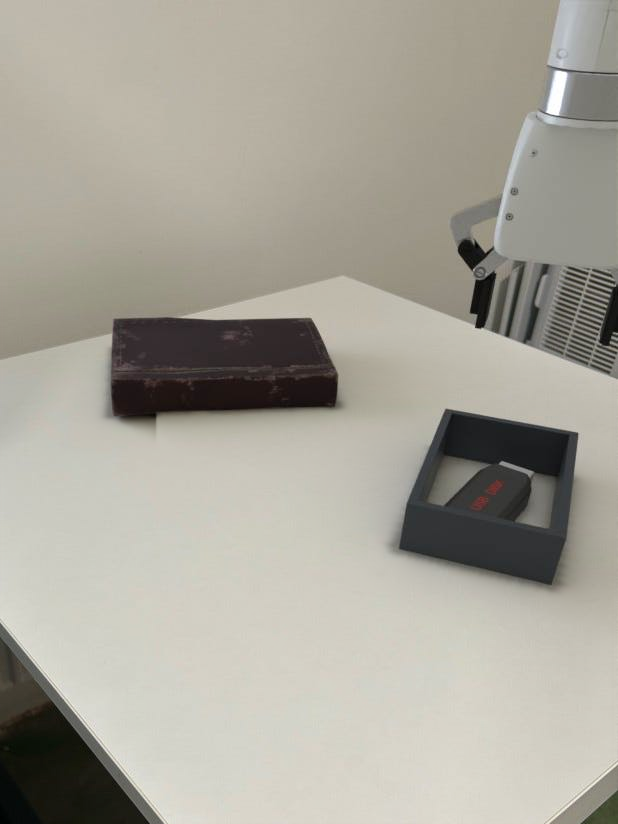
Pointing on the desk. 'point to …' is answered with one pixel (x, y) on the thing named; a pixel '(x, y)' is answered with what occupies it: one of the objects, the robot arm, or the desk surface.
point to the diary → (218, 365)
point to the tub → (484, 535)
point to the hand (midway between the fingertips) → (541, 331)
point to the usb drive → (495, 492)
